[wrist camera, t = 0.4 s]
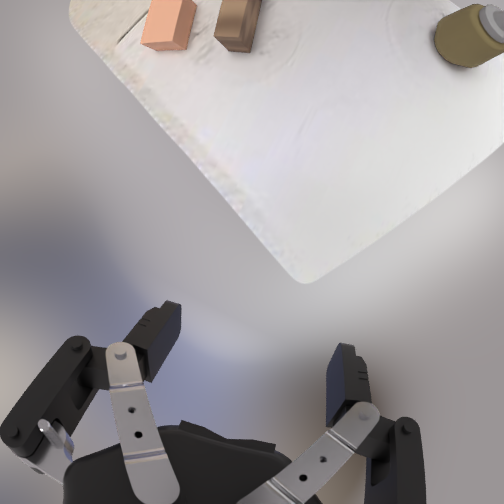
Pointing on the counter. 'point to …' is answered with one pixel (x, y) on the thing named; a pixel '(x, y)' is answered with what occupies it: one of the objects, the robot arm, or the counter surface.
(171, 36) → the terracotta block
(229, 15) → the walnut plank
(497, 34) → the squeeze bottle
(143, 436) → the robot arm
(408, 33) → the counter surface
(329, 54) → the counter surface
